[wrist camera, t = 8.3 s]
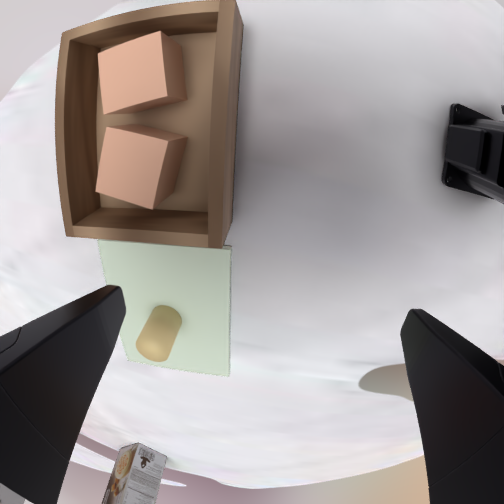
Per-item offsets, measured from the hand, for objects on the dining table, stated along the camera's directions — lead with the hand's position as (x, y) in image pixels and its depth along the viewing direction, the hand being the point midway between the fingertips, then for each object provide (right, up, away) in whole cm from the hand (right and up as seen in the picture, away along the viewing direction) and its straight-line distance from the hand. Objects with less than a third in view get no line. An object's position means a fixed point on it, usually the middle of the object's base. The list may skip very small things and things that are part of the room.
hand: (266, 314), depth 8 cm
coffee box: (-21, -36, +33) cm, 53 cm away
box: (-7, +11, +9) cm, 16 cm away
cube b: (-7, +8, +10) cm, 14 cm away
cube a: (-7, +13, +7) cm, 16 cm away
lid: (-8, -3, +17) cm, 19 cm away
